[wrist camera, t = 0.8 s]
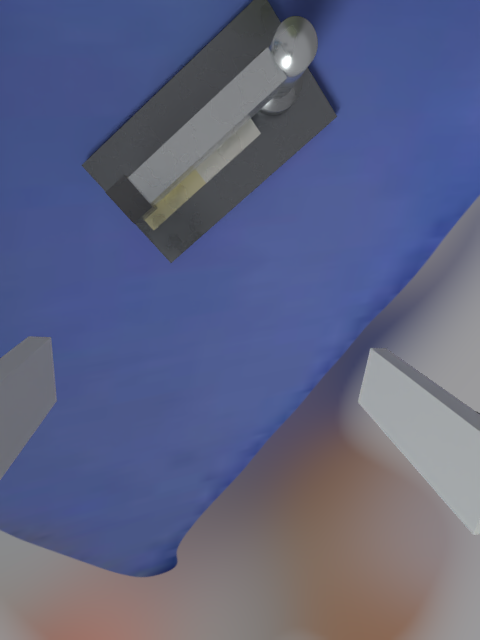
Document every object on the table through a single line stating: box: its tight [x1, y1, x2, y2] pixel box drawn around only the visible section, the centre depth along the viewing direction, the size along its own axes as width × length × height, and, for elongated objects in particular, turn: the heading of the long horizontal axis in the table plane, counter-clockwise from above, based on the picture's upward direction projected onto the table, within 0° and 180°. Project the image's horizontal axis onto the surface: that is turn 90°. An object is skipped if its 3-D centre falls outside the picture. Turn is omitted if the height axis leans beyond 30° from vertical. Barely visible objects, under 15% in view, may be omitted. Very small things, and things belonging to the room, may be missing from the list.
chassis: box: [82, 0, 337, 263], centre depth 31 cm, size 12×22×2 cm, turn 130°
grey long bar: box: [105, 16, 318, 224], centre depth 27 cm, size 19×3×6 cm, turn 130°
